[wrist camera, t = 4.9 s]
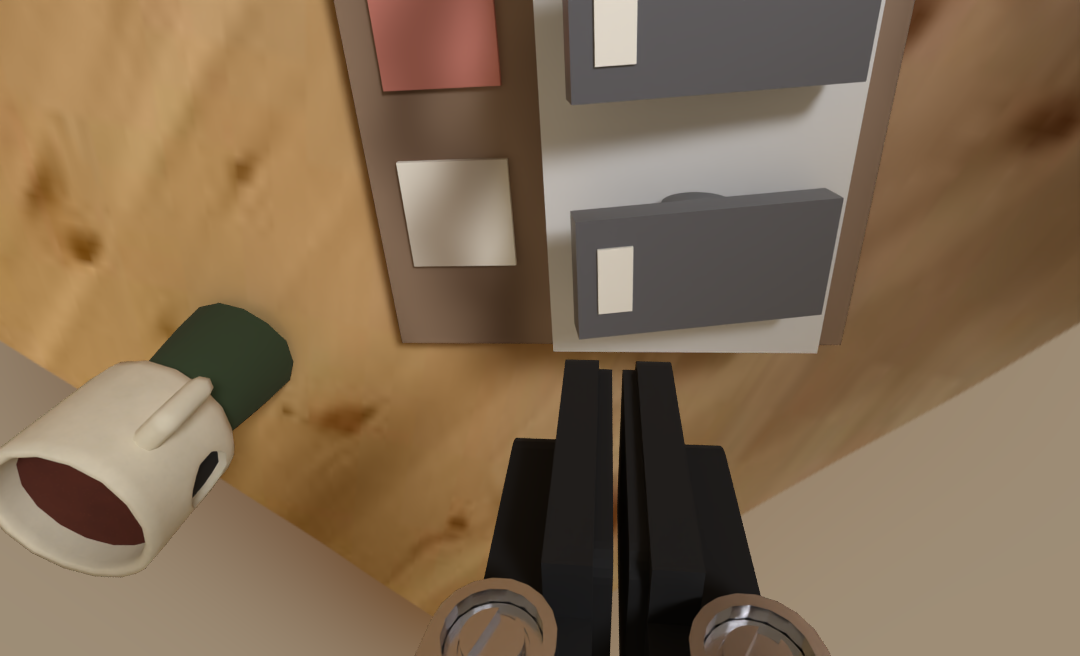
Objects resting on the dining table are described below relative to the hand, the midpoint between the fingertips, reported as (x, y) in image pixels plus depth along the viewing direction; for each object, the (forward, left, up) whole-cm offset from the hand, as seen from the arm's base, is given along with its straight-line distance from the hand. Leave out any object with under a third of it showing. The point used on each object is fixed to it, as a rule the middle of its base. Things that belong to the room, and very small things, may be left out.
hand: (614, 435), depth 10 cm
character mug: (+21, +10, -20) cm, 31 cm away
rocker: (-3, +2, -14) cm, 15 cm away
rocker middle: (-3, -6, -14) cm, 16 cm away
